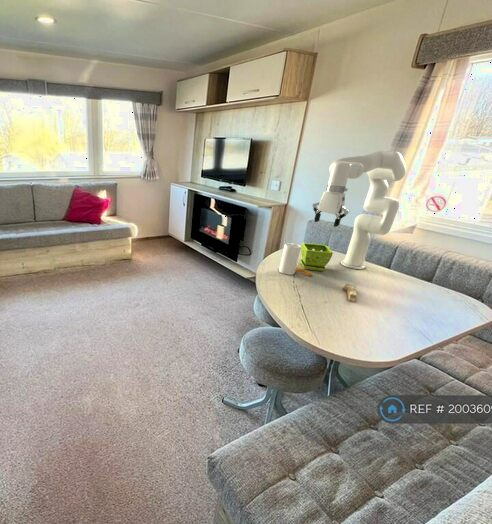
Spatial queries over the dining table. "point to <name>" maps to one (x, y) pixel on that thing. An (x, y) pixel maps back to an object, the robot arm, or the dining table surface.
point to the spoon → (351, 292)
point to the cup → (289, 258)
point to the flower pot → (315, 256)
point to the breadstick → (303, 271)
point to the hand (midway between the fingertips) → (325, 223)
